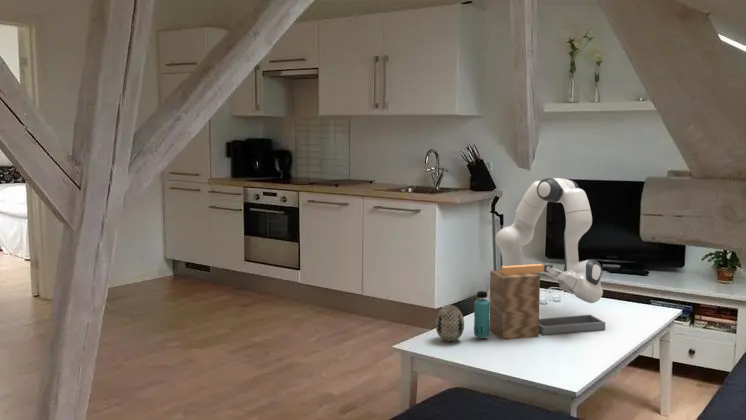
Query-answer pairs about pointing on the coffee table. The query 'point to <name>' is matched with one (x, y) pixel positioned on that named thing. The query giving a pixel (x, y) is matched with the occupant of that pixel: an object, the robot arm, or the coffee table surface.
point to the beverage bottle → (481, 315)
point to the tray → (570, 325)
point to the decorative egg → (449, 323)
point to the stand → (514, 305)
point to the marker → (525, 269)
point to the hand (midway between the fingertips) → (543, 266)
